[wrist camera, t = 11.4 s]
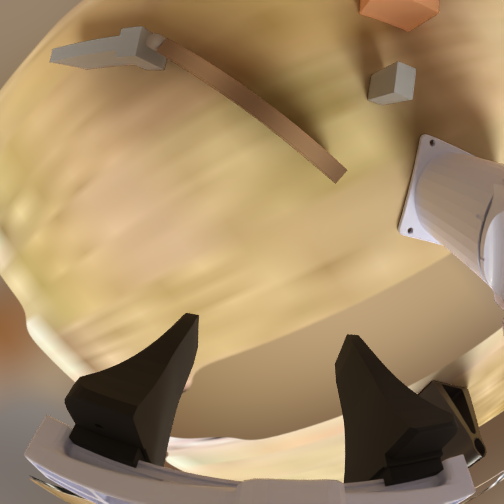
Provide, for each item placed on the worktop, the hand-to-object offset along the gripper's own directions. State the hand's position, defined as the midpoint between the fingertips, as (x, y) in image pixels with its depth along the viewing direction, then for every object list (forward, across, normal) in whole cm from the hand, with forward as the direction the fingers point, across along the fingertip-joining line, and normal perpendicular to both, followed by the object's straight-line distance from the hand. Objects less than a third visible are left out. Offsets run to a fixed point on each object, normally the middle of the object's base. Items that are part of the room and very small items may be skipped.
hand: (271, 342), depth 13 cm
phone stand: (+10, -25, +17) cm, 32 cm away
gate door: (+9, +9, -14) cm, 19 cm away
